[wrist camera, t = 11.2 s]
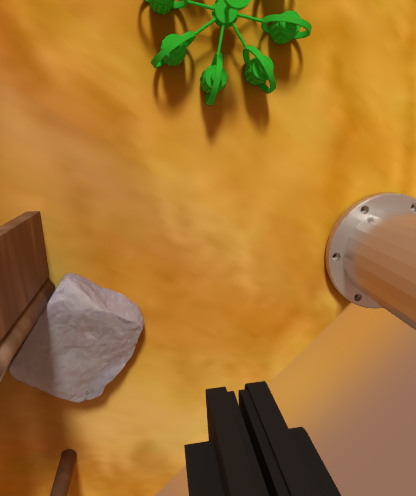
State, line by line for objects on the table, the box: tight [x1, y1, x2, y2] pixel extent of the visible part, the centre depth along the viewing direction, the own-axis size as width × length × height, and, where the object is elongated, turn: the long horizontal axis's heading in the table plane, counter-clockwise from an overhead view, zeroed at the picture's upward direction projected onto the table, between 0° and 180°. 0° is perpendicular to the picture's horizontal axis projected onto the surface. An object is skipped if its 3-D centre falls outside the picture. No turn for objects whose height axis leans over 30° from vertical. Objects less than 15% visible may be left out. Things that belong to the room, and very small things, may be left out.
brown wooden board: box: [0, 211, 76, 496], centre depth 32 cm, size 2×28×16 cm, turn 2°
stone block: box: [9, 273, 144, 402], centre depth 39 cm, size 12×5×10 cm
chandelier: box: [144, 0, 311, 106], centre depth 31 cm, size 15×15×7 cm
